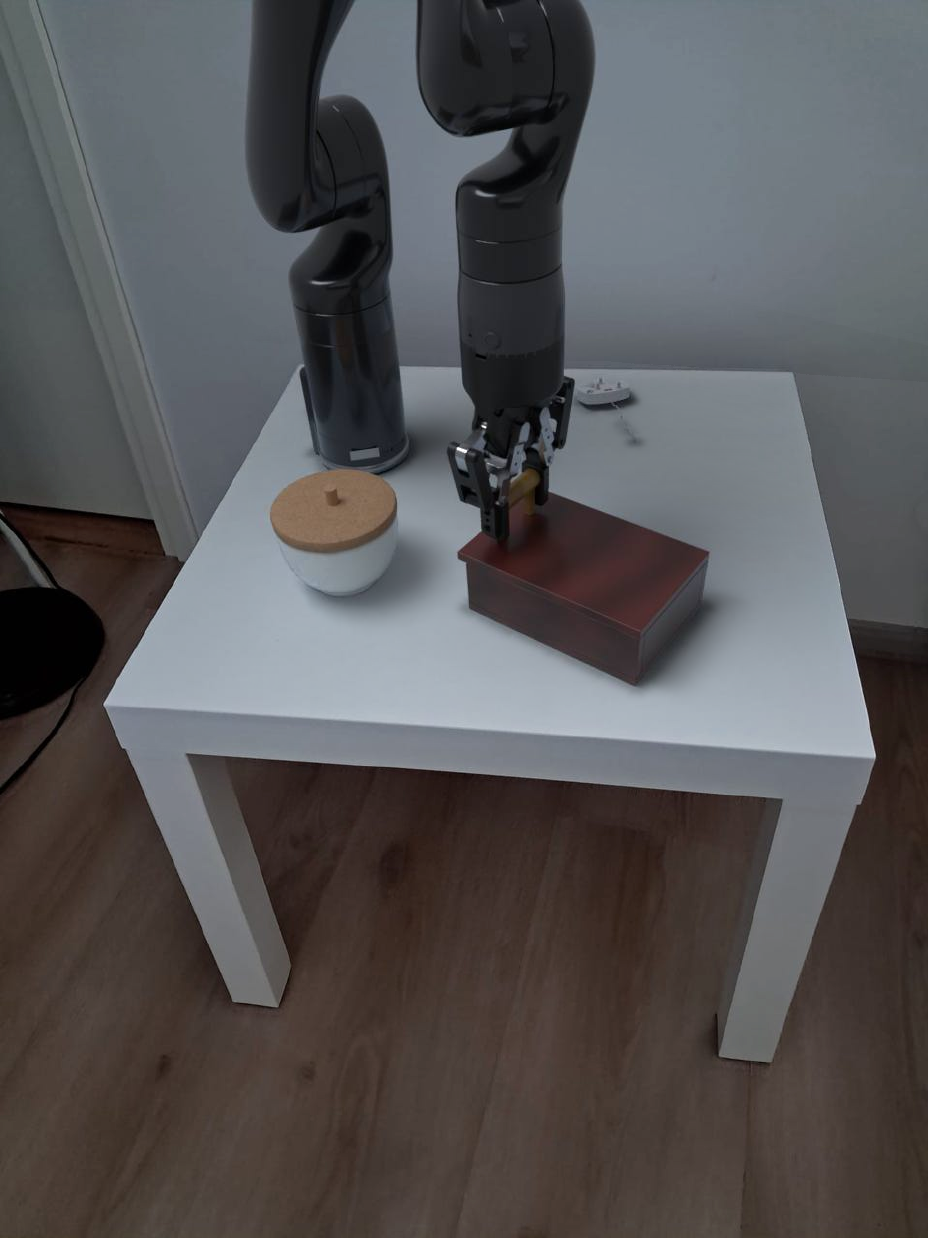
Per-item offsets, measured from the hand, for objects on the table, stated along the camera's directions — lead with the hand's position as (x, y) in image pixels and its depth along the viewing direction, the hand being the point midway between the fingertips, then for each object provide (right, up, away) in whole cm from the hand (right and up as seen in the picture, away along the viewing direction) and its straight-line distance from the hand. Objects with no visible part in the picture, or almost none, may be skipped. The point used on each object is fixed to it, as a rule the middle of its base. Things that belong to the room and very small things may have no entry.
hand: (515, 517), depth 78 cm
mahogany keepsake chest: (+6, -7, +1) cm, 9 cm away
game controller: (+12, +14, +24) cm, 30 cm away
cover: (+5, -4, -2) cm, 7 cm away
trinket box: (-15, -4, +6) cm, 17 cm away
